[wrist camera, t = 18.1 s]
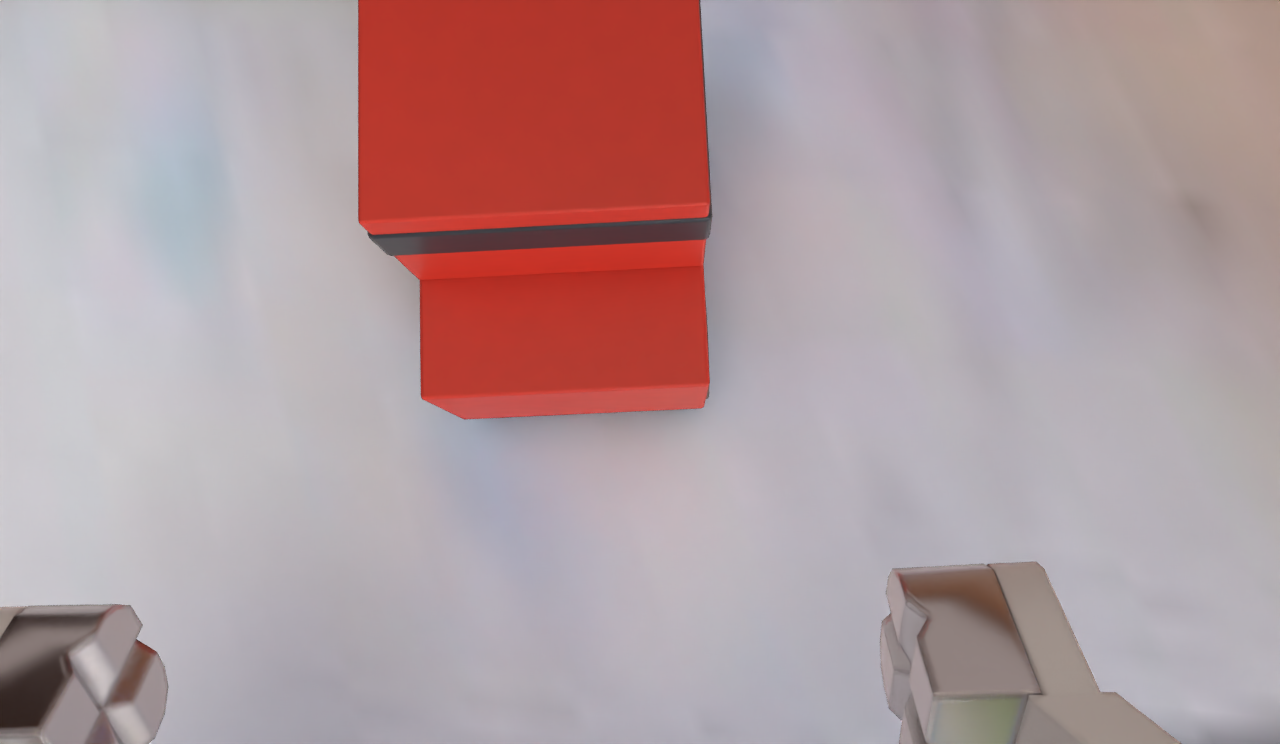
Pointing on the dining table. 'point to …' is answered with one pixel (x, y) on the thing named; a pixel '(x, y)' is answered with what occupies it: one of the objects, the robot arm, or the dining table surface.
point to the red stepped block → (542, 197)
